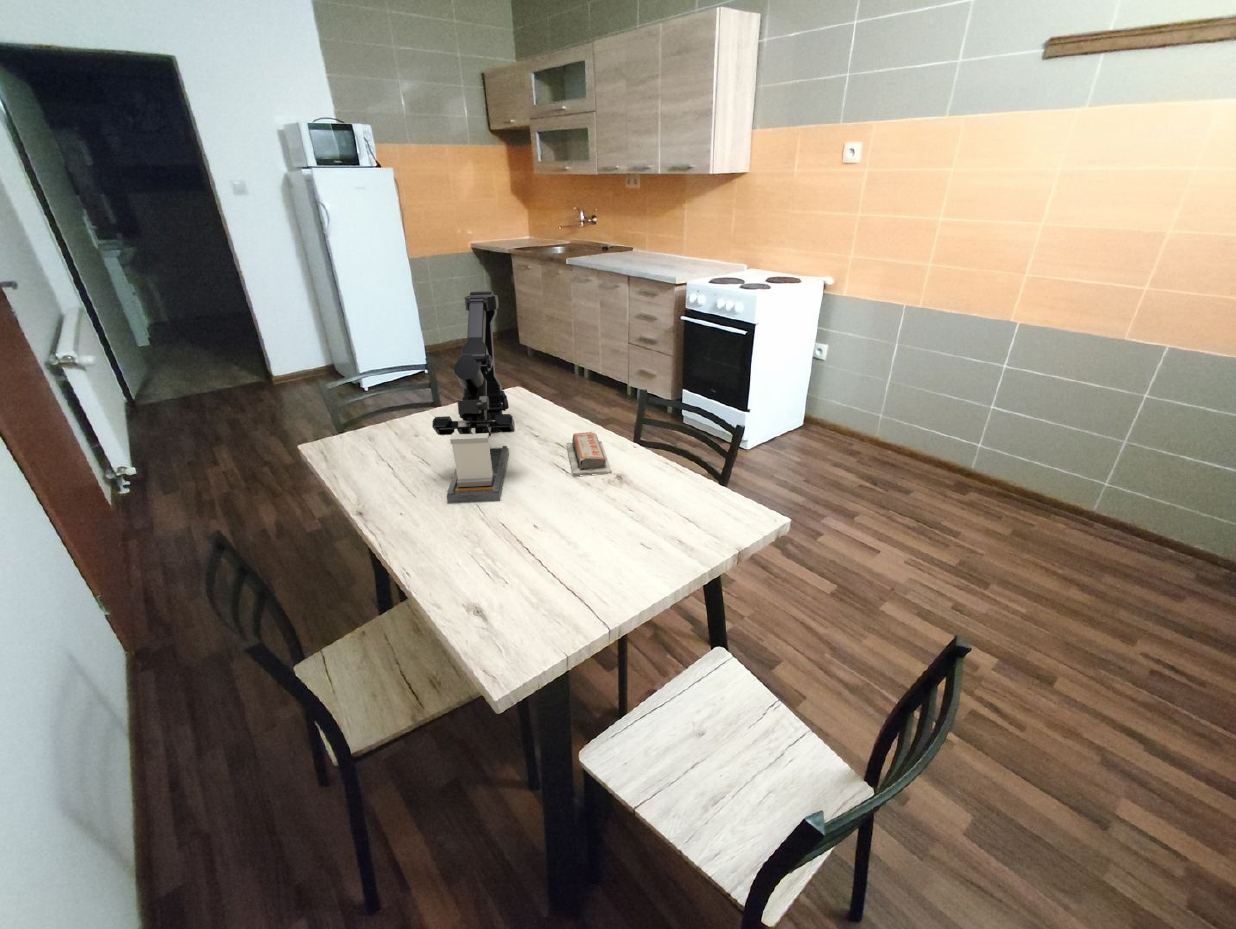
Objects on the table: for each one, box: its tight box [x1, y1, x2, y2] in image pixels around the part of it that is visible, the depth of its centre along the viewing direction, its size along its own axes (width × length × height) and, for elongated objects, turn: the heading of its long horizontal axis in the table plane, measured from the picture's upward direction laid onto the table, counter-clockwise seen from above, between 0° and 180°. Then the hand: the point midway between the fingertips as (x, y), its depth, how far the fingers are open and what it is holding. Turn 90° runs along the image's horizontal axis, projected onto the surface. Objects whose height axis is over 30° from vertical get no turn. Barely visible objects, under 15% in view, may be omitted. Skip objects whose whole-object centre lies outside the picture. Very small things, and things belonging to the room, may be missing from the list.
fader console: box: [446, 445, 510, 504], centre depth 142 cm, size 24×12×3 cm, turn 4°
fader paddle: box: [449, 433, 494, 487], centre depth 133 cm, size 5×8×12 cm, turn 94°
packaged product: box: [566, 431, 612, 477], centre depth 150 cm, size 18×5×10 cm
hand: (474, 458), depth 135 cm, fingers closed, pressing on fader paddle
